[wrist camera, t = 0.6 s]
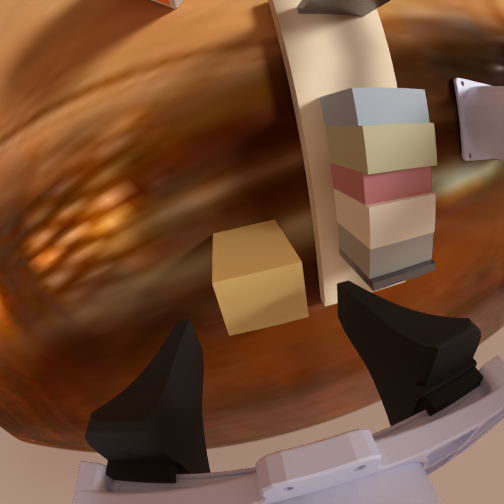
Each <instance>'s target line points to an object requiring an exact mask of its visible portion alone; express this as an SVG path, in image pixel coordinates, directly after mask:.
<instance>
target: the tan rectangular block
mask: <svg viewBox="0 0 504 504" xmlns="http://www.w3.org/2000/svg"><path fill="white" fill-rule="evenodd" d="M212 284H213V288H214V291H215V294H216V297H217V300H218V303H219V306H220V310H221V313H222V316H223V319H224V322H225V325H226V328H227V331H228V334H229V336H230V335H235V334H240V333H244V332H249V331H253V330H257V329H262V328H266V327H270V326H274V325H278V324H282V323H286V322H290V321H294V320H298V319H302V318H306V317H308V308H307V299H306V291H305V283H304V275H303V267H302V261H301V260H300V258H299V256H298V255H297V253H296V252H295V250H294V249H293V247H292V245H291V244H290V242H289V241H288V239H287V238H286V236H285V235H284V233H283V232H282V230H281V228H280V227H279V225H278V224H277V222H276V221H275V220H270V221H266V222H261V223H257V224H253V225H248V226H244V227H240V228H235V229H231V230H227V231H223V232H218V233H214V234H213V256H212Z"/></svg>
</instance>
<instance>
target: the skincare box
mask: <svg viewBox="0 0 504 504" xmlns="http://www.w3.org/2000/svg"><path fill="white" fill-rule="evenodd" d="M152 1H155V2H157V3H160V4H163V5H166V6H168V7H171V8H173V9H176V8H178V6H179V5H180V4H181V3H182V2H183V1H184V0H152Z"/></svg>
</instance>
